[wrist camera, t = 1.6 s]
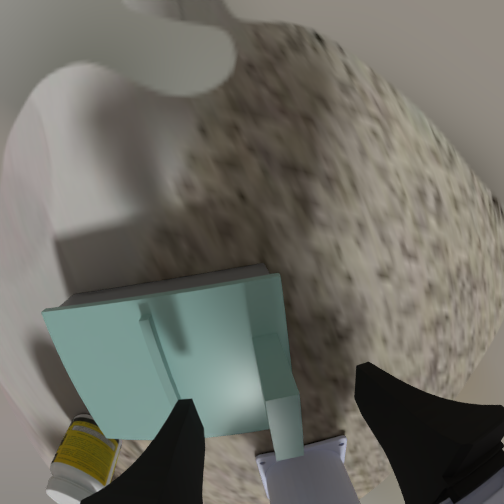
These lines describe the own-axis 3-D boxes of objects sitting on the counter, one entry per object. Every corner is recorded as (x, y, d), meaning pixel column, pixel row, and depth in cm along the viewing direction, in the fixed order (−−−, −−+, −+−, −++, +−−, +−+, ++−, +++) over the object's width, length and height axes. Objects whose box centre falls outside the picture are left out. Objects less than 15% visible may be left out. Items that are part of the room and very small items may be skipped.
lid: (295, 417, 15) (315, 479, 10) (108, 433, 15) (89, 487, 10) (278, 272, 13) (309, 321, 8) (45, 308, 12) (-6, 352, 7)
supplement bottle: (68, 406, 17) (30, 477, 9) (118, 419, 18) (91, 501, 10) (80, 440, 18) (54, 505, 10) (126, 452, 19) (108, 525, 11)
